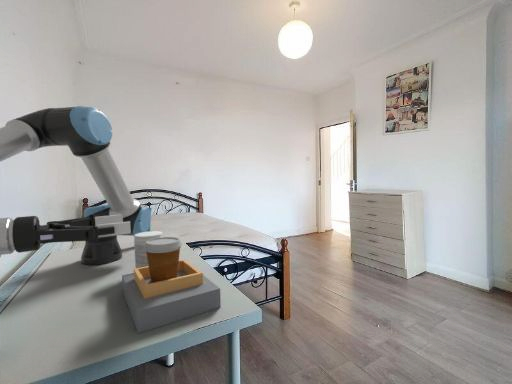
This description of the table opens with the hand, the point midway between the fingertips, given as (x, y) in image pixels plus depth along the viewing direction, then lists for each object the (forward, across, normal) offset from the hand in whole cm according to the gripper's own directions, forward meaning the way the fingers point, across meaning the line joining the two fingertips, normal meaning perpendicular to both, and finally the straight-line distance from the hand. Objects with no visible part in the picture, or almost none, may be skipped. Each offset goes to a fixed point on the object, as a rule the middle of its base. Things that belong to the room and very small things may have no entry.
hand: (126, 223), depth 67 cm
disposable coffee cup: (+8, +3, -18) cm, 20 cm away
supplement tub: (+10, -23, -23) cm, 34 cm away
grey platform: (+9, -2, -23) cm, 25 cm away
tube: (+16, -69, -24) cm, 75 cm away
